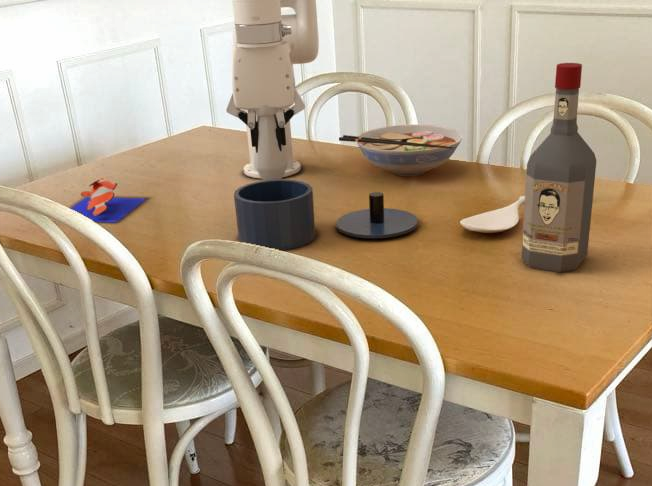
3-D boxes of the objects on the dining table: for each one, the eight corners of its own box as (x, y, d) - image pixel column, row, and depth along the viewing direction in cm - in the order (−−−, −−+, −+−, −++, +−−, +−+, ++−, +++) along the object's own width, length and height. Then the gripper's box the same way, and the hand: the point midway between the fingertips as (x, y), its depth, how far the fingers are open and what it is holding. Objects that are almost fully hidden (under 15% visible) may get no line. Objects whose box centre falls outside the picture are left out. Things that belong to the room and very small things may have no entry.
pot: (243, 226, 163) (238, 181, 159) (316, 223, 163) (313, 177, 159) (235, 252, 152) (230, 204, 147) (314, 249, 151) (310, 201, 147)
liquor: (536, 247, 147) (549, 58, 132) (590, 255, 143) (609, 61, 128) (516, 266, 141) (527, 69, 125) (572, 275, 136) (591, 72, 121)
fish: (90, 173, 179) (128, 174, 178) (94, 196, 182) (132, 197, 180) (59, 193, 168) (101, 193, 167) (65, 217, 171) (105, 217, 169)
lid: (336, 216, 166) (335, 183, 163) (415, 212, 166) (414, 180, 163) (336, 243, 153) (334, 209, 150) (420, 239, 153) (420, 205, 150)
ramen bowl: (482, 162, 193) (484, 124, 189) (442, 192, 176) (442, 151, 172) (380, 153, 203) (379, 117, 199) (333, 180, 186) (330, 141, 182)
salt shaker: (255, 173, 154) (248, 96, 148) (288, 171, 154) (282, 94, 148) (255, 183, 149) (247, 103, 143) (289, 180, 149) (282, 101, 143)
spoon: (592, 198, 168) (593, 180, 166) (490, 245, 149) (491, 225, 147) (552, 190, 174) (553, 172, 172) (449, 234, 155) (449, 215, 153)
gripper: (311, 28, 143) (318, 142, 153) (211, 33, 144) (224, 147, 153) (309, 35, 137) (316, 154, 146) (205, 40, 137) (219, 158, 146)
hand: (269, 149), depth 149 cm, fingers closed on salt shaker, 3 cm apart
